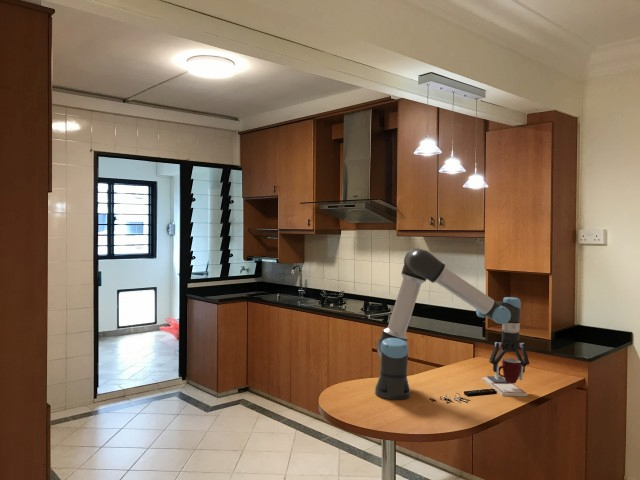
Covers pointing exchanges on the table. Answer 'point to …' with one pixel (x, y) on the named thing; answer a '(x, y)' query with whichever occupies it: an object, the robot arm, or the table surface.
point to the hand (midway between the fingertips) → (508, 379)
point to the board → (504, 386)
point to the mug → (510, 370)
